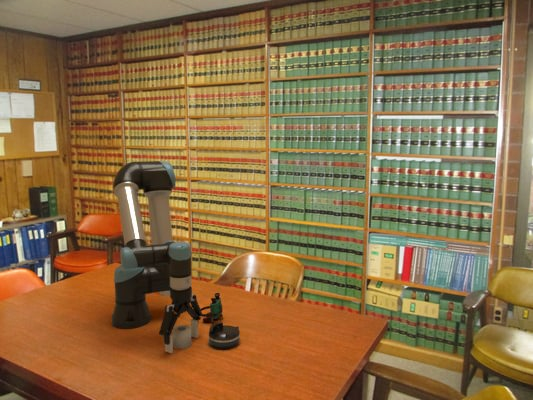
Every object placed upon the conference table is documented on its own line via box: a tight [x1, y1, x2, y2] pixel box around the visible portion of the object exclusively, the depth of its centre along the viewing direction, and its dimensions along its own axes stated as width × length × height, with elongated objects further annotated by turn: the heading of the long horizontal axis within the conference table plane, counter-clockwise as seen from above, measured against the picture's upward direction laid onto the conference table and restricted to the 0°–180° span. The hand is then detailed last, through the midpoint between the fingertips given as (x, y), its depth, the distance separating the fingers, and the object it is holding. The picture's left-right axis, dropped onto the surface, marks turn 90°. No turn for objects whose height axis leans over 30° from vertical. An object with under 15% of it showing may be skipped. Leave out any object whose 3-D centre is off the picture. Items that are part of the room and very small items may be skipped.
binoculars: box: [200, 292, 224, 324], centre depth 172 cm, size 9×11×10 cm
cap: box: [172, 324, 192, 350], centre depth 151 cm, size 6×6×6 cm
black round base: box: [208, 321, 241, 351], centre depth 153 cm, size 11×11×6 cm
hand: (182, 344), depth 151 cm, fingers open, 13 cm apart
